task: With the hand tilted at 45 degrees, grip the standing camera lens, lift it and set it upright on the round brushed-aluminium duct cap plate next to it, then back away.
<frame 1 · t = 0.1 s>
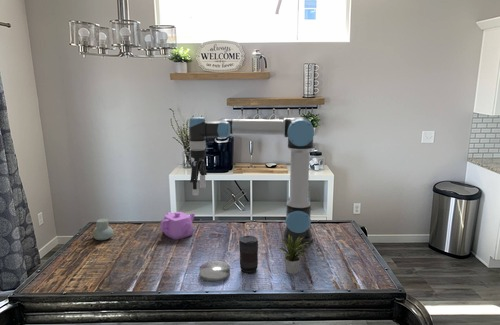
hand: (199, 191, 187), 28 cm above the table, tool pointing down, fingers open, 13 cm apart
house plant: (292, 272, 164), on the table
duct cap plate: (214, 274, 162), on the table
camera lens: (248, 271, 165), on the table
air freshener: (103, 238, 200), on the table
teakettle: (179, 234, 206), on the table
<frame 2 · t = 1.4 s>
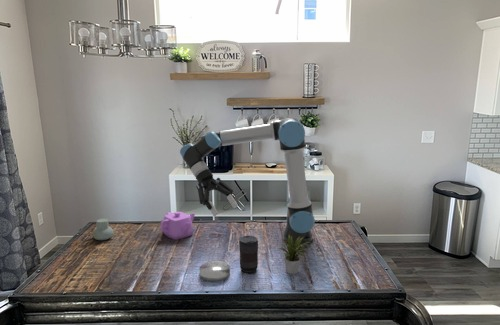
hand: (226, 210, 170), 24 cm above the table, tool tilted 45°, fingers open, 13 cm apart
nothing on the table moved.
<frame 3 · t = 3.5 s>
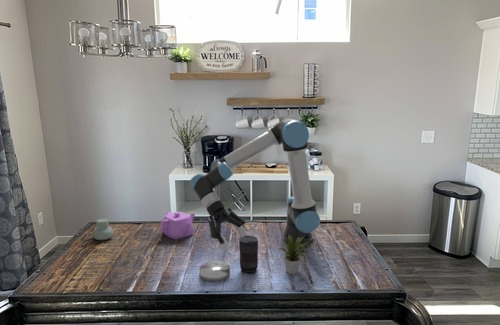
hand: (238, 244, 165), 12 cm above the table, tool tilted 45°, fingers open, 13 cm apart
nothing on the table moved.
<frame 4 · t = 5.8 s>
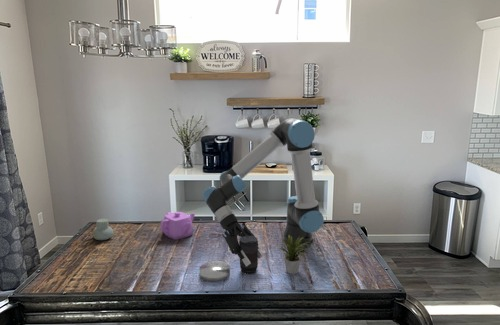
hand: (254, 260, 162), 6 cm above the table, tool tilted 45°, fingers closed on camera lens, 8 cm apart
camera lens: (248, 271, 165), on the table, touching gripper
everything else where it was.
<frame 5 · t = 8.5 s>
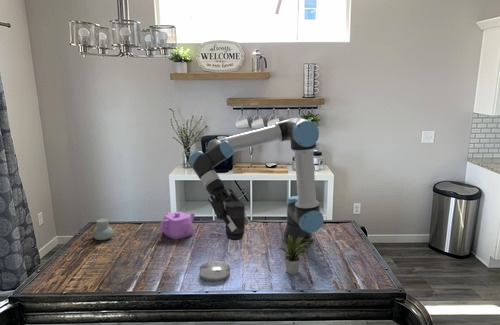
hand: (241, 226, 158), 22 cm above the table, tool tilted 45°, fingers closed on camera lens, 8 cm apart
camera lens: (234, 237, 161), point 16 cm above the table, touching gripper
everything else where it was.
when the fingers open (10 cm above the table, at t = 11.5 s): camera lens drops 1 cm, resting on duct cap plate.
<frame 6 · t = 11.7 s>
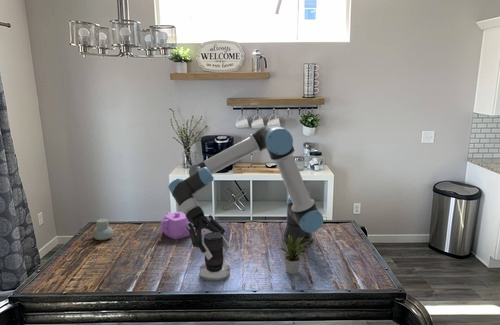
hand: (219, 253, 158), 11 cm above the table, tool tilted 45°, fingers open, 10 cm apart
camera lens: (214, 268, 161), point 3 cm above the table, touching duct cap plate
everything else where it was.
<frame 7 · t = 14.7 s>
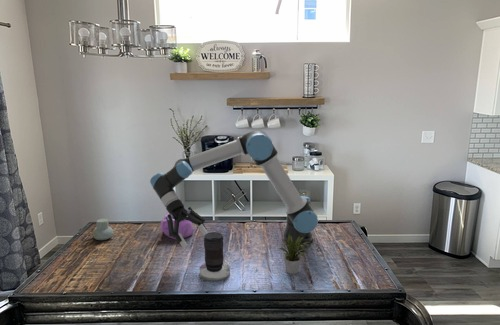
hand: (197, 242, 167), 12 cm above the table, tool tilted 45°, fingers open, 13 cm apart
nothing on the table moved.
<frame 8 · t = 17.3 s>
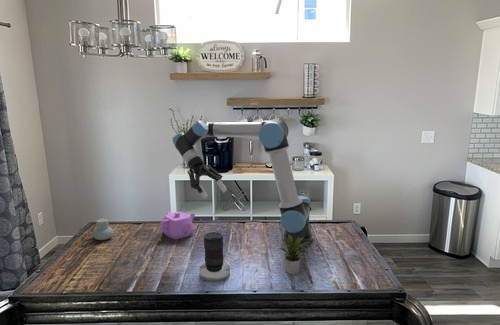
hand: (216, 194, 183), 28 cm above the table, tool tilted 45°, fingers open, 13 cm apart
nothing on the table moved.
at the end: camera lens inside the target area on the duct cap plate (0.4 cm from its centre), point 2.8 cm above the duct cap plate's base; camera lens tilted 0°; the gripper is holding nothing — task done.
